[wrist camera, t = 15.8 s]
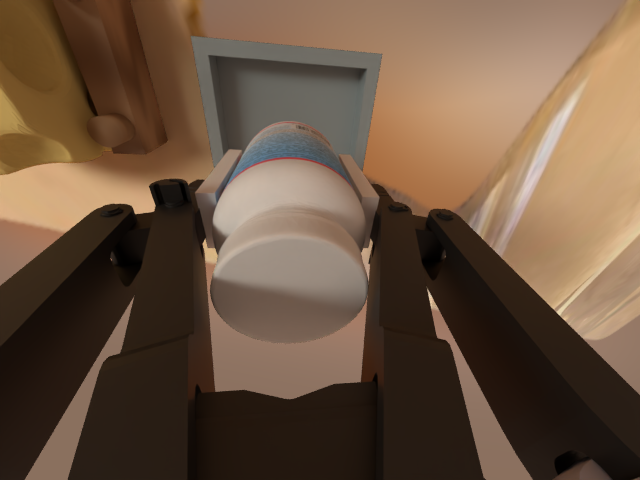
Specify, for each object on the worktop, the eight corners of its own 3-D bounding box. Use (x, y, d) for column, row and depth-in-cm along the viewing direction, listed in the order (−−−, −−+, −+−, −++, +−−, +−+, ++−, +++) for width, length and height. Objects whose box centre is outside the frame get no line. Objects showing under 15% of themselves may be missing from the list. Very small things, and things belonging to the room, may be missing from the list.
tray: (203, 40, 20) (190, 35, 17) (371, 55, 21) (382, 54, 19) (228, 199, 28) (221, 212, 25) (349, 201, 29) (355, 214, 27)
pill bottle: (223, 158, 16) (125, 289, 6) (301, 96, 14) (320, 151, 5) (283, 224, 19) (275, 375, 10) (353, 179, 17) (422, 307, 8)
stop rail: (79, -47, 17) (-17, -99, 11) (118, -42, 17) (41, -91, 12) (140, 140, 23) (97, 160, 18) (167, 141, 24) (132, 162, 18)
